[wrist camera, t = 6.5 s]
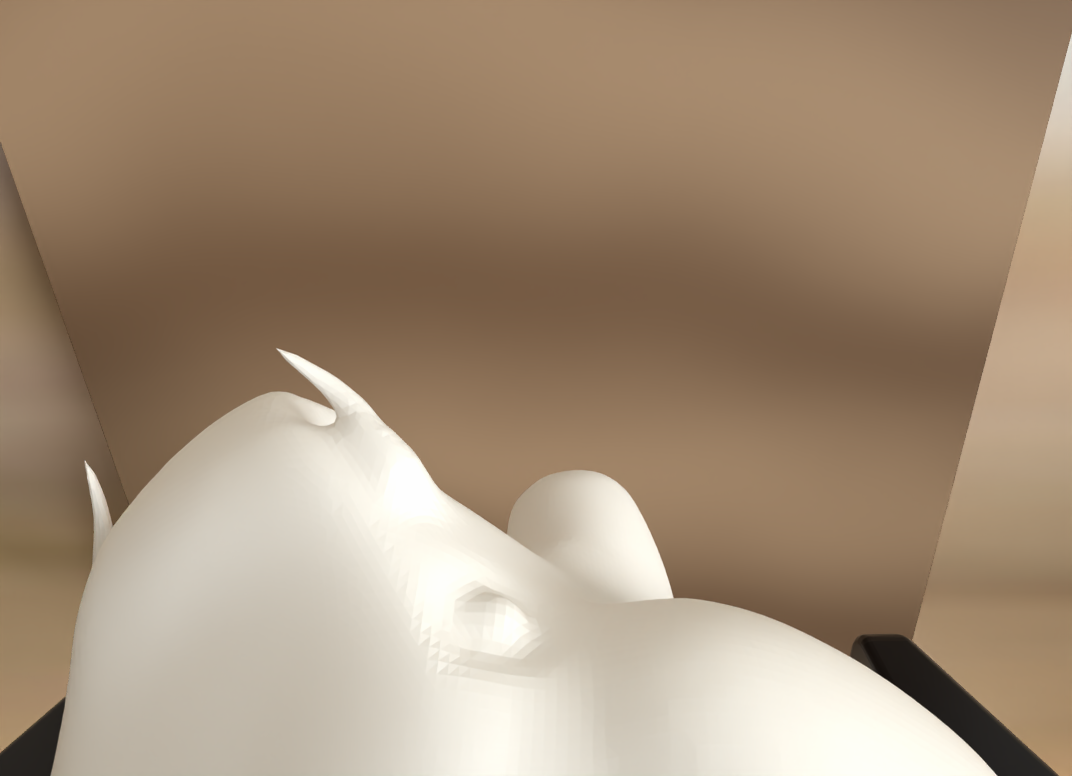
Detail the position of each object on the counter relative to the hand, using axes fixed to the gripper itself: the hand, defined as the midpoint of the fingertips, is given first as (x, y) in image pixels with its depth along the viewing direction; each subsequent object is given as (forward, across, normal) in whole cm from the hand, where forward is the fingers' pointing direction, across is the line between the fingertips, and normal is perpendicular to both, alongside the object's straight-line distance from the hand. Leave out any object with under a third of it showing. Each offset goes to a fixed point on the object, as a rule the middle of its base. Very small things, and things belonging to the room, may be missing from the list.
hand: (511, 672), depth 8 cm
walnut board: (+8, 0, 0) cm, 8 cm away
